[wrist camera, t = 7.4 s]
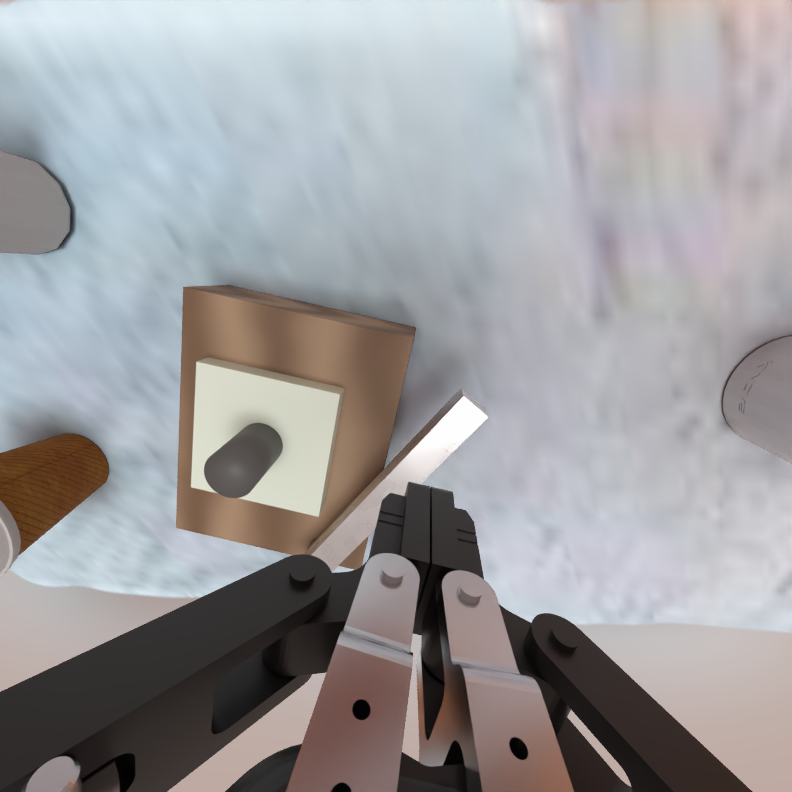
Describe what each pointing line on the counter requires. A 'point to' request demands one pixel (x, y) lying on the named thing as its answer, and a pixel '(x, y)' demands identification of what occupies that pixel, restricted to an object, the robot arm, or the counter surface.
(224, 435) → the lid
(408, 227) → the counter surface
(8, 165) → the water bottle
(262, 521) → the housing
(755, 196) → the counter surface
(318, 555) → the latch bar
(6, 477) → the disposable coffee cup
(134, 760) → the robot arm
